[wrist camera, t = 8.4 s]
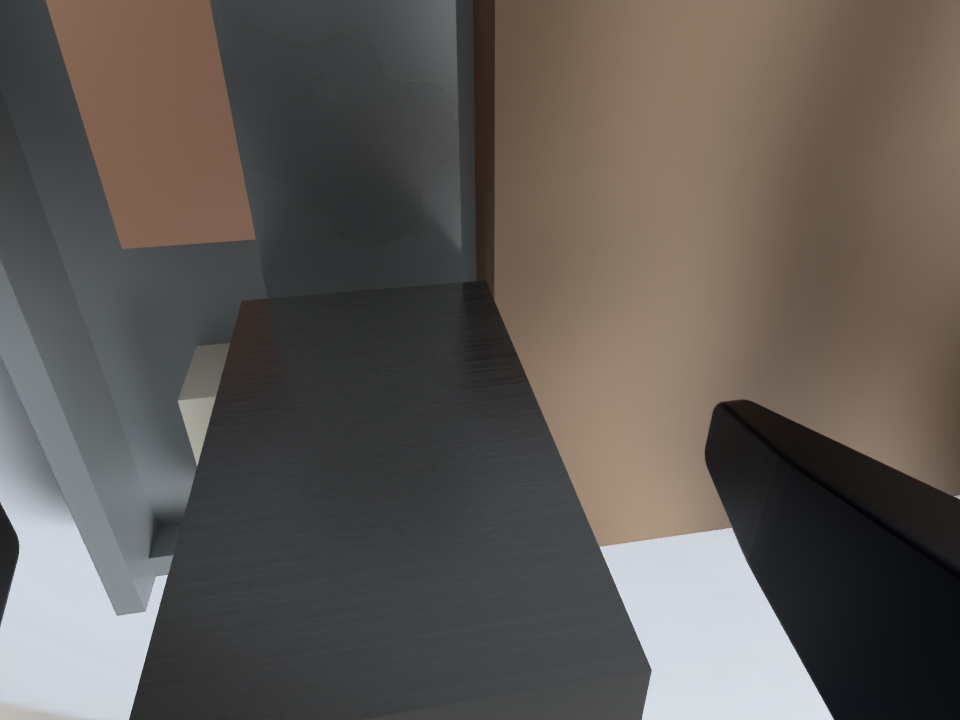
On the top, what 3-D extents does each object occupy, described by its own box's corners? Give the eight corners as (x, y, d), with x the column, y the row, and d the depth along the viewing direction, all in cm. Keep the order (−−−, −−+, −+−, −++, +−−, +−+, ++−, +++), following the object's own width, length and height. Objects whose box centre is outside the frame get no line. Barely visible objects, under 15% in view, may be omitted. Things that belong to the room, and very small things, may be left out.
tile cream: (389, 328, 15) (395, 378, 13) (401, 468, 17) (408, 527, 15) (196, 345, 14) (177, 400, 13) (234, 489, 16) (223, 552, 15)
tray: (465, -159, 11) (495, -181, 9) (475, 490, 18) (493, 561, 16) (-120, -164, 10) (-245, -192, 8) (143, 532, 17) (116, 615, 15)
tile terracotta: (345, -48, 11) (346, -45, 9) (368, 193, 13) (372, 230, 11) (81, -44, 10) (32, -41, 9) (151, 207, 13) (121, 248, 11)
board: (1192, -152, 13) (1356, -169, 11) (937, 431, 20) (1005, 488, 18) (465, -159, 11) (495, -181, 9) (475, 490, 18) (493, 561, 16)
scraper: (442, -135, 9) (876, -439, 2) (463, 561, 16) (567, 1080, 9) (199, -137, 8) (-602, -557, 1) (331, 580, 15) (324, 1142, 8)
